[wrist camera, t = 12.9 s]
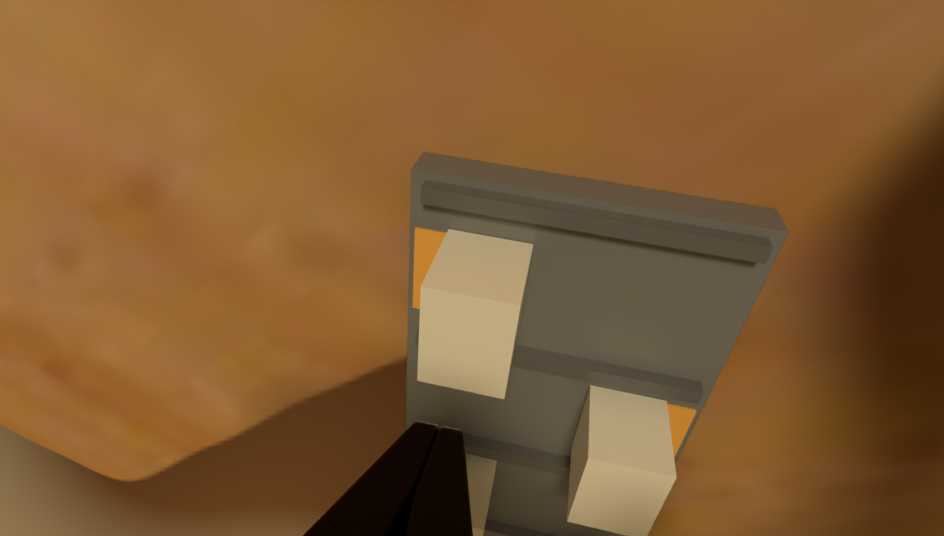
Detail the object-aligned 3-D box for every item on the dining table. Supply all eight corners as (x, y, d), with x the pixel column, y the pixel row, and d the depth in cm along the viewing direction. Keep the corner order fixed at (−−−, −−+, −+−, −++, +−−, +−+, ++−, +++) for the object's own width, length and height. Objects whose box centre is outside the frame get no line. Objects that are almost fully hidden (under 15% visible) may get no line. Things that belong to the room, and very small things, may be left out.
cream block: (497, 459, 25) (483, 530, 22) (488, 507, 28) (475, 577, 25) (435, 445, 26) (414, 513, 23) (431, 494, 28) (412, 560, 25)
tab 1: (533, 244, 18) (520, 305, 16) (517, 331, 21) (504, 399, 18) (448, 229, 19) (420, 286, 16) (442, 316, 21) (417, 380, 18)
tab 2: (666, 400, 21) (676, 477, 18) (640, 463, 23) (645, 540, 21) (590, 384, 22) (588, 457, 19) (571, 447, 24) (566, 521, 21)
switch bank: (776, 209, 18) (795, 242, 16) (625, 535, 29) (627, 574, 27) (423, 152, 19) (406, 176, 17) (411, 484, 30) (400, 518, 29)
